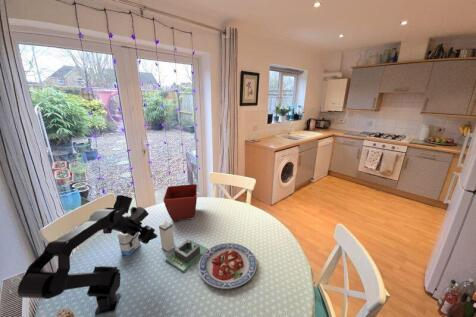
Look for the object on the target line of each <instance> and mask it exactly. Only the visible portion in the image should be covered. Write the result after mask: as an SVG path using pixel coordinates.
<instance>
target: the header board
mask: <svg viewBox="0 0 476 317" xmlns="http://www.w3.org/2000/svg"><path fill="white" fill-rule="evenodd" d="M208 249H209V248H207V247H205V246H203V245H202V244H200V243H199V242H196V241H194V240H192V239H190V240H189V239H186V240H185V241H184V242H182V243H180V244H179V245H178V246H177V247H176V248H174V250H173V253H172V254H171V255H169V256H168V257H167V258H166V259H165V261H166V262H167V263H168V264H170V265H171V266H173V267H174V268H176V269H178V270H179V271H180V272H181V273H185V272H186V271H187V270H189V268H191V266H193V265H194V264H195V263H196V262H197V261H198V260H200V259H201V257H202V255H203V254H204V253H205V252H206V251H207V250H208Z"/></svg>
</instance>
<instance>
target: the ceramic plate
mask: <svg viewBox="0 0 476 317" xmlns="http://www.w3.org/2000/svg"><path fill="white" fill-rule="evenodd" d="M256 268H257V260H256V257H255V255H254V254H253V252H252V251H251V250H250V249H248V248H247V247H246V246H244V245H242V244H239V243H234V242H224V243H219V244H216V245H213V246H212V247H209V248H208V250H207V251H206V252H205V253H204V254H203V255H202V257H200V258H199V262H198V272H199V275H200V277H201V279H203V280H204V282H205V283H207V284H208V285H210V286H211V287H214V288H218V289H224V290H225V289H234V288H238V287H240V286H243V285H245V284H246V283H248V281H249V280H251V279H252V277H253V276H254V274H255V273H256Z"/></svg>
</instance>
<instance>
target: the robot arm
mask: <svg viewBox="0 0 476 317" xmlns="http://www.w3.org/2000/svg"><path fill="white" fill-rule="evenodd" d="M132 202H133V198H132V197H131V196H130V197H129V196H127V195H124V194H117V196H116V200H115V202H114V204H113V207H104V208H99V209H97V210H95V211H94V212H93V213H92V214H91V215H90V216H89V219H88V220H86V221H85V222H83V223H82V224H80V225H79V226H77V227H75V228H74V229H71V230H70V231H69V232H66V234H64V235H63V236H61V237H59V238H57V239H55V240H52V241H50V242H48V243H47V244H46V246H45V248H44V250H43V252H42V253H41V254H40V255H39V256H38V257H37V258H36V259H35V260H34V261H32V263H31V264H30V265H29V266H28V267H27V270H26V271H25V273H24V275H23V277H22V278H21V280H20V282H19V284H18V286H17V287H18V288H17V294H18V297H19V298H24V299H25V298H26V299H45V300H48V299H49V300H50V299H53V298H55V297H57V296H60V295H62V294H63V293H64V291H67V290H74V289H80V288H87V287H88V290H87V292H86V295H87V296H88V297H95V298H96V304H97V307H96V309H95V311H94V314H95V315H98V314H104V313H109V312H114V311H115V310H116V308H117V306H118V303H119V300H120V298H121V293H117V292H118V290H119V289H120V287H121V272H120V271H121V270H120V269H119V268H118V266H111V265H110V266H108V265H107V266H104V265H99V266H94V268H93V270H92V272H79V273H69V272H70V270H71V255H72V253H73V250H75V249H76V248H78V247H79V246H80V245H81V244H83V243H84V242H86V241H87V240H89V239H90V238H91V237H93V236H94V235H96V234H97V233H98V232H100V231H102V232H103V234H104V235H107V234H111V233H112V232H113V231H116V232H118V233H119V232H122V233H123V234H126V233H127V234H130V235H131V236H134V235H135V234H136V233H137V232H139V236H138V240H139V241H140V243H142V244H144V245H147V244H149V242H150V241H151V240H153V239H156V238H158V234H157V233H155V231H156V229H155V228H154V227H151V226H149V225H147V224H146V225H145V226H142V225H143V221H144V219H146V218H147V217H148V216H149V212H148V211H147V210H146V209H145V207H143V206H137V207H135V206H132V207H130V206H131V204H132ZM129 211H130V215H129V214H128V213H129ZM125 214H127V215H125ZM124 215H125V216H124ZM55 257H57V269H56V271H46V270H45V271H44V270H42V269H43V268H44V267H46V265H47V264H48V263H49V262H51V260H53V258H55Z"/></svg>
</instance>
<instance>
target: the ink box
mask: <svg viewBox="0 0 476 317" xmlns="http://www.w3.org/2000/svg"><path fill="white" fill-rule="evenodd" d="M139 234H140V233H139V232H137V233H136V234H135V235H134V236H131V235H130V234H127V233H126V234H123V233H122V232H119V231H118V232H117V239H118V243H119V249H120V253H121V255H122V256H131V255H132V254H134V252H135V251H136V250H137V248H138V247H140V245H141V243H142V242H141V241H139V240H138V236H139Z"/></svg>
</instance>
